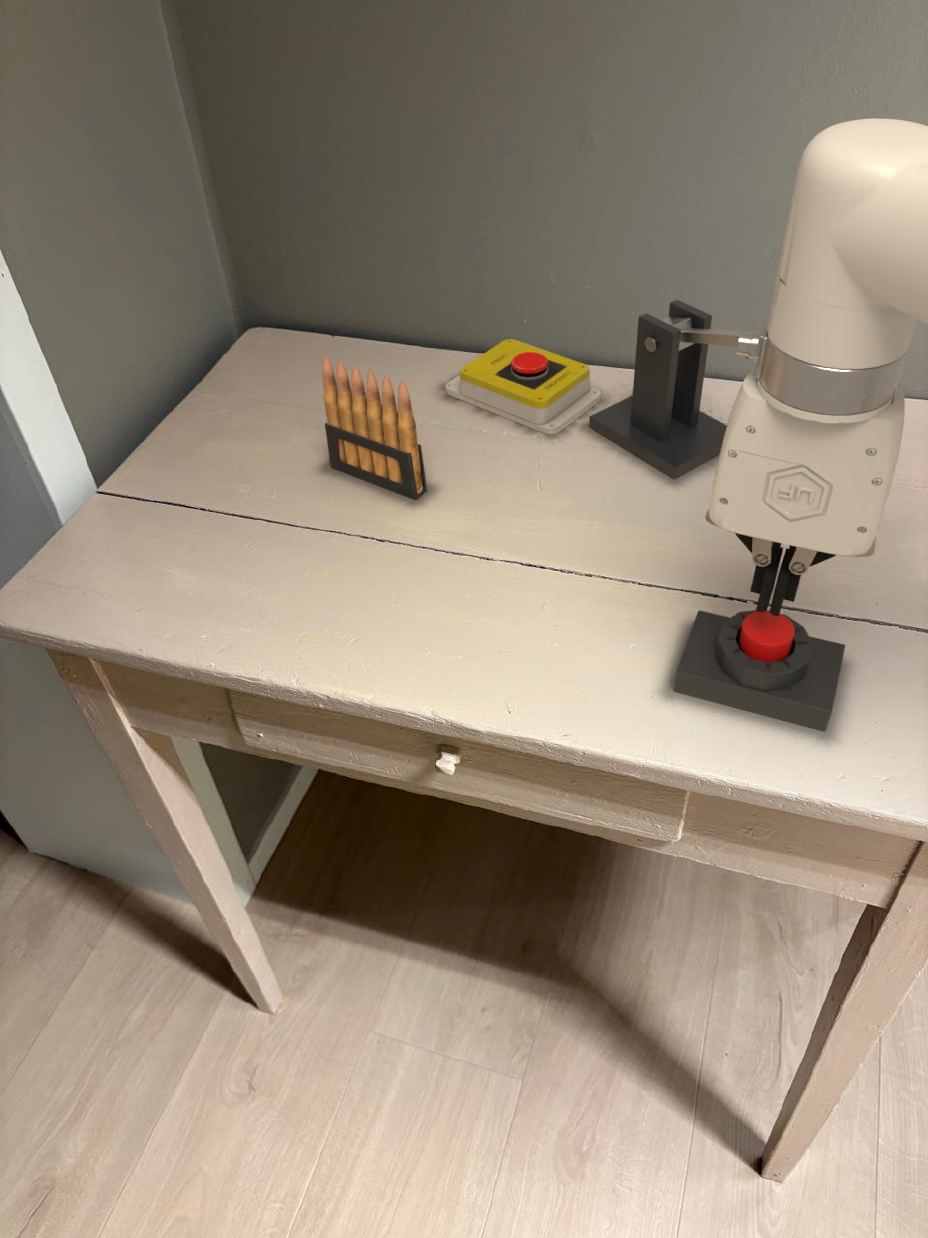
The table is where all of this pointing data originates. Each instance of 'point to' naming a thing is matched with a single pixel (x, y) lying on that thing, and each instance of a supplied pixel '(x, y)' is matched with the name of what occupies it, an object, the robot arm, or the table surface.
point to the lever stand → (665, 399)
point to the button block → (760, 672)
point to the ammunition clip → (372, 431)
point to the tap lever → (702, 334)
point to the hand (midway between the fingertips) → (771, 600)
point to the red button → (766, 636)
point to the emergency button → (527, 386)
